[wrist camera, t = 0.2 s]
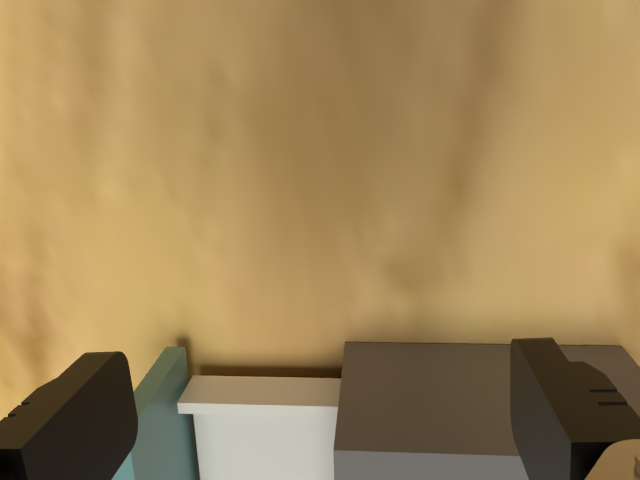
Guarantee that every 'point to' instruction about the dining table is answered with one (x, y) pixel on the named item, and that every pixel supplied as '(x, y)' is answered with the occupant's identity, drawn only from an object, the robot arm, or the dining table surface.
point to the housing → (442, 409)
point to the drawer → (231, 426)
